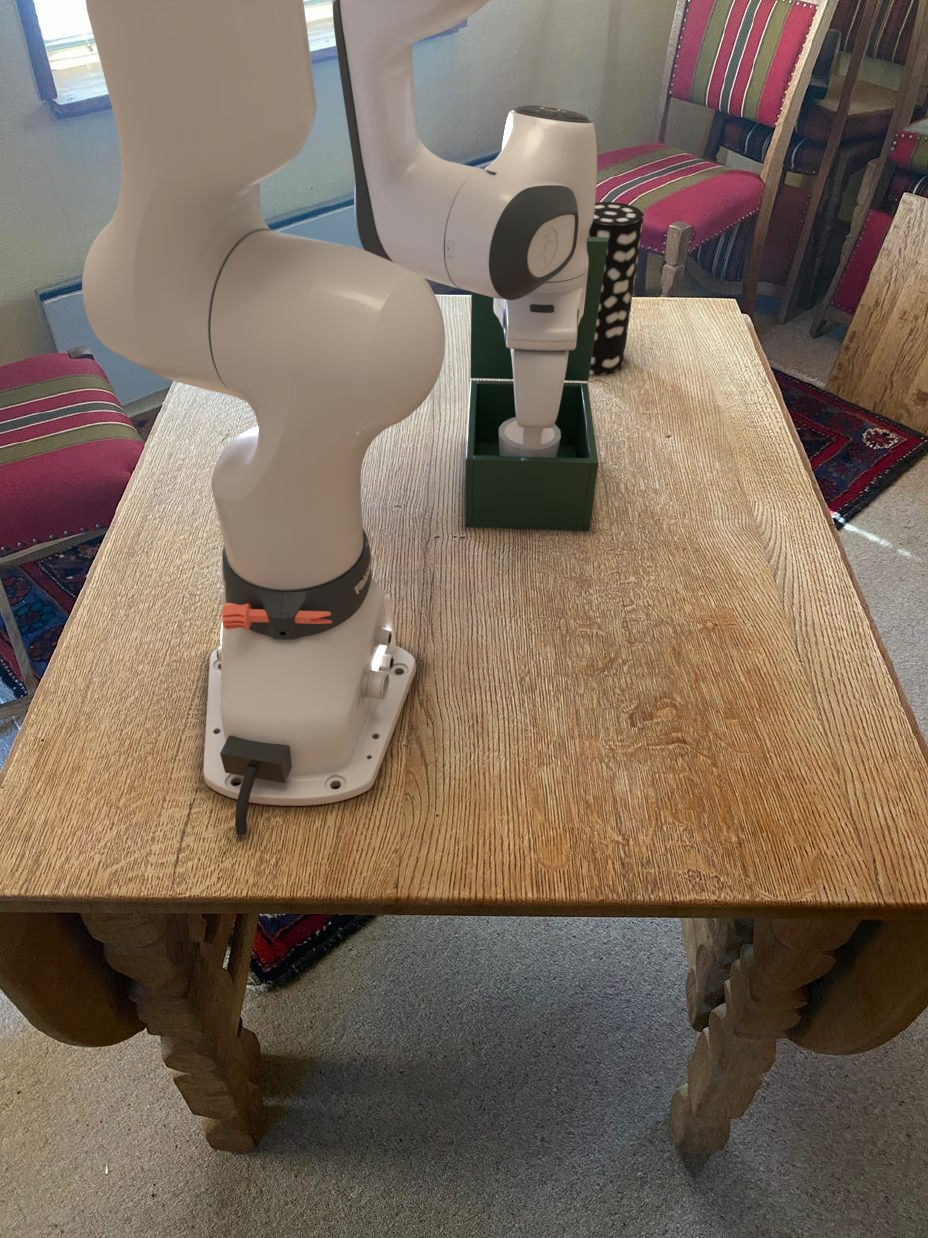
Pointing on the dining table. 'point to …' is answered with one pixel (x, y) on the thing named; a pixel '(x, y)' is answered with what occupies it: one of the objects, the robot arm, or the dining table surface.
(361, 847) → the dining table surface
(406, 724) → the dining table surface
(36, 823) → the dining table surface
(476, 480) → the chest
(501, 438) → the shot glass
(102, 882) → the dining table surface
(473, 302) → the lid
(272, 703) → the robot arm
